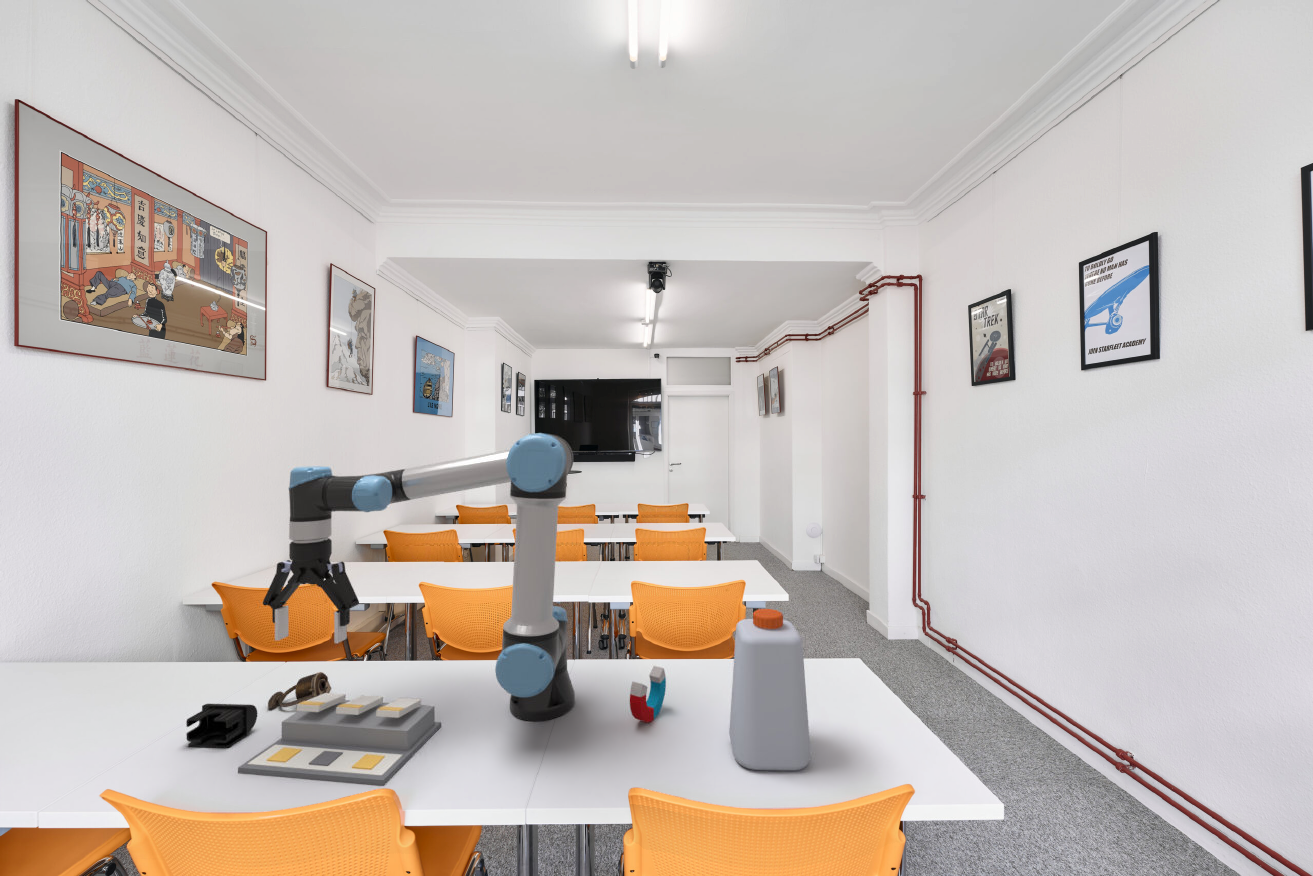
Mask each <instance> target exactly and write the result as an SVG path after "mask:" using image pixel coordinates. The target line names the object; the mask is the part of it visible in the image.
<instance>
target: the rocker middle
mask: <svg viewBox="0 0 1313 876" xmlns="http://www.w3.org/2000/svg"><path fill="white" fill-rule="evenodd" d="M350 700H351V701H349V702H347V703H344V704H341V705H339V706H338V707H336V713H338V714H352V715H359V714H361V713H363V712H365V711H367V710H369V709H371V708H373V707H375V706H377V705H379V704H381V703H384V696H379V695H377V696H375V695H360V696H359V697H358V696H357V697H355V698H353V699H350Z"/></svg>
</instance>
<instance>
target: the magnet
mask: <svg viewBox="0 0 1313 876" xmlns="http://www.w3.org/2000/svg"><path fill="white" fill-rule="evenodd" d="M648 677H649V680H650V681H649V682H650V688H649V693H648V685H645V684H644V683H639V682H636V681H632V682H631V687H630V691H629V692H630V693H629V708H630V712H631V715H632V717H633V718H634V719H635V720H638V721H640V722H644V723H651V722H652V721H654V720H655V719H656V718H657V716H658V715H659V713H660V711H661V708H662V707H663V702H664V700H665V695H666V687H667V677H666V672H665V668H664V667H661V666H657V665H653V667H652V669H651V671H650V673H649V676H648ZM647 693H648V694H647ZM647 695H648V698H647Z"/></svg>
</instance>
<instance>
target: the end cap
mask: <svg viewBox="0 0 1313 876" xmlns="http://www.w3.org/2000/svg"><path fill="white" fill-rule="evenodd" d="M257 719H258V709H257V707H256V705H254V704H244V703H243V704H241V703H240V704H236V703H235V704H234V703H233V704H232V703H204V704H202V706H201V711H199V712H197V713H195V714H193V715H192V716H190V717H188V718H186V725H185V726H186V727H187V728H188V727H191V726H192V725H194V724H196V723H197V722H198V725H197V726H196V727H194V728H193V729H191V730H189V731H188V732H186V741H187V742H188V744H187V747H188V748H190V749H191V748H194V749H196V748H197V749H229V748H232V747H233V746H234V745H236V744H237V743H239V742H240V741H242V740H243V739H245V738H246V736H247V735H248V734H249V733H250V732H251V731H252V730H253V728H254V726H255V725H256V722H257Z"/></svg>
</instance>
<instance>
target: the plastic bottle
mask: <svg viewBox="0 0 1313 876" xmlns="http://www.w3.org/2000/svg"><path fill="white" fill-rule="evenodd" d="M752 613H753V614H752V618H746V619H745V618H744V619H741V620H740V621H738V622H737V623H736V625H735V637H734V639H735V640H734V655H733V669H732V671H733V672H732V685H731V700H730V712H729V713H730V716H729V728H728V730H729V731H728V733H729V734H728V735H729V738H730V745H731V749H732V754H733V757H734V760H736V762H737V763H738V764H739V765H740V766H743V767H744V768H745V769H749V770H754V771H755V770H756V771H793V772H794V771H800V770H802V769H804V768H806V767H807V766H808V765H809V764H810V762H811V757H812V756H811V741H810V729H809V717H808V716H809V715H808V714H809V713H808V712H809V711H808V703H807V702H808V701H807V699H808V698H807V689H806V688H807V687H806V675H805V661H804V647H803V639H802V637H801V635H800V633H799V632H798V630H797V629H796V627H795V626H794V624H793V623H792V622H790V620H786V619H784V614H783V613H782V612H781V611H779V610H776V609H772V608H771V609H770V608H759V609H756V610H755V611H753V612H752Z"/></svg>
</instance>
